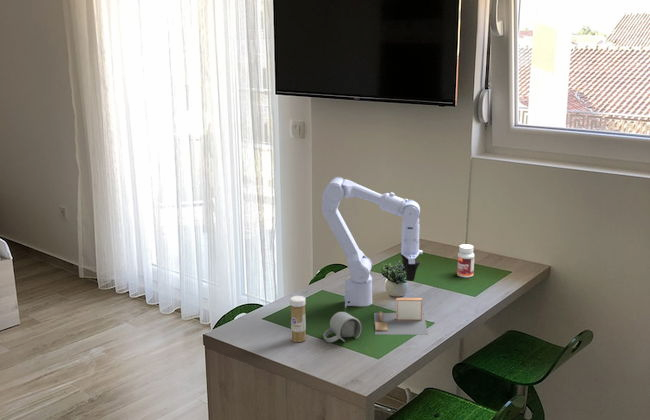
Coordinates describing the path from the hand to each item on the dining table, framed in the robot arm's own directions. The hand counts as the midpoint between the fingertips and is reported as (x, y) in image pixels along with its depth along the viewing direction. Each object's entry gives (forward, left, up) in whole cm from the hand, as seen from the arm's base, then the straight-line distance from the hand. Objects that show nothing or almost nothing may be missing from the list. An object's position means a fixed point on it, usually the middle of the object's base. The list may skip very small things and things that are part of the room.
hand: (409, 277), depth 228 cm
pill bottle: (+23, +30, -11) cm, 39 cm away
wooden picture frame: (-1, -12, -10) cm, 15 cm away
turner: (-10, -14, -10) cm, 20 cm away
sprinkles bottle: (-35, -25, -11) cm, 44 cm away
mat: (-4, -15, -10) cm, 19 cm away
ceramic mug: (-22, -24, -11) cm, 34 cm away
